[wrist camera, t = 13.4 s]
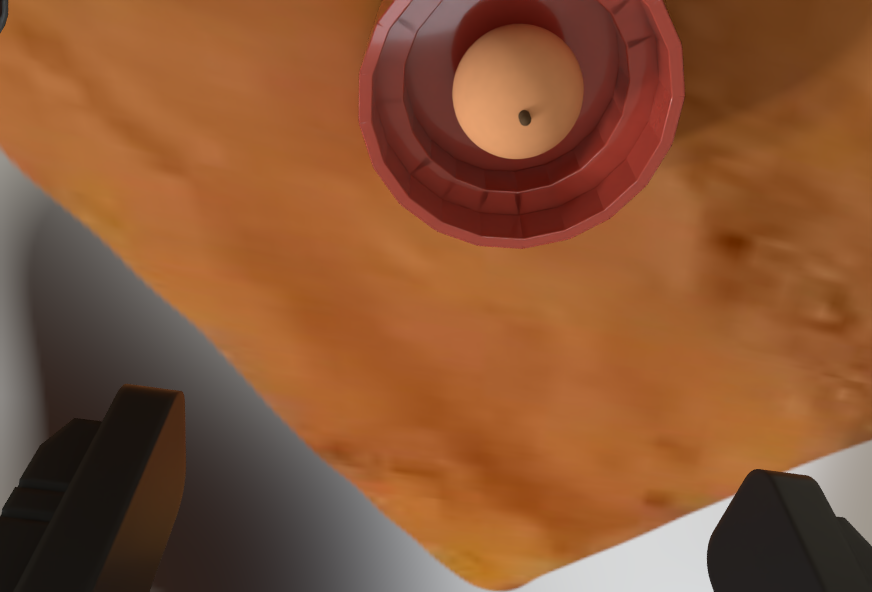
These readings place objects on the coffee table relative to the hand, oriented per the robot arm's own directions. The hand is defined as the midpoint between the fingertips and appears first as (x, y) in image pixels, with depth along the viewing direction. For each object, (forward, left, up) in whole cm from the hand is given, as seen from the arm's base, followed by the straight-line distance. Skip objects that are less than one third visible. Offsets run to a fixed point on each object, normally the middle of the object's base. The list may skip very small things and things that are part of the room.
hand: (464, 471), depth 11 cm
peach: (+5, -1, -30) cm, 30 cm away
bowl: (+5, -1, -30) cm, 31 cm away
